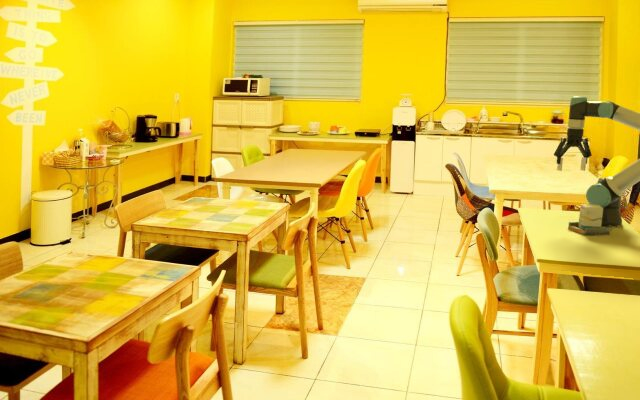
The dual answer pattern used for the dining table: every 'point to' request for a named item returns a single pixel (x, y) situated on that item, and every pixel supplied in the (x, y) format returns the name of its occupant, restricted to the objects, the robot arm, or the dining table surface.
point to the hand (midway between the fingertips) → (571, 170)
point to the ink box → (590, 216)
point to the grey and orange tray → (588, 230)
